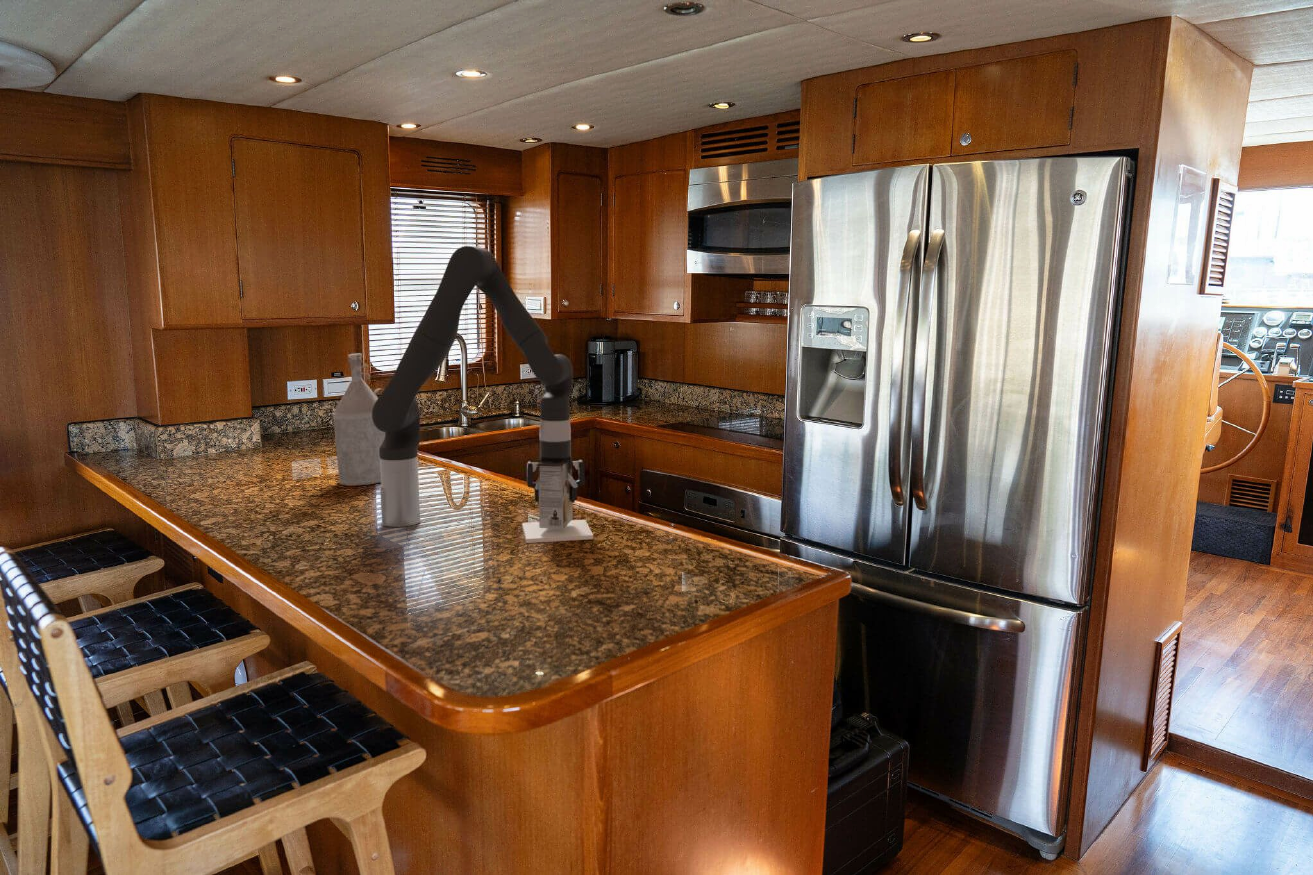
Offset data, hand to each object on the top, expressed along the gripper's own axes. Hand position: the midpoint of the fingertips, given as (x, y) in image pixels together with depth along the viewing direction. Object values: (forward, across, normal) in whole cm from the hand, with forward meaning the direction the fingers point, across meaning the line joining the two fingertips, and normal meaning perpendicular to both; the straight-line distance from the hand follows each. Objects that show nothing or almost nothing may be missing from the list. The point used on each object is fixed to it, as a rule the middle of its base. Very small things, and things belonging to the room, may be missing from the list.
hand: (556, 502), depth 211 cm
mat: (+8, 0, 0) cm, 8 cm away
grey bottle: (+8, -52, +68) cm, 86 cm away
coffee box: (+6, 0, 0) cm, 6 cm away
